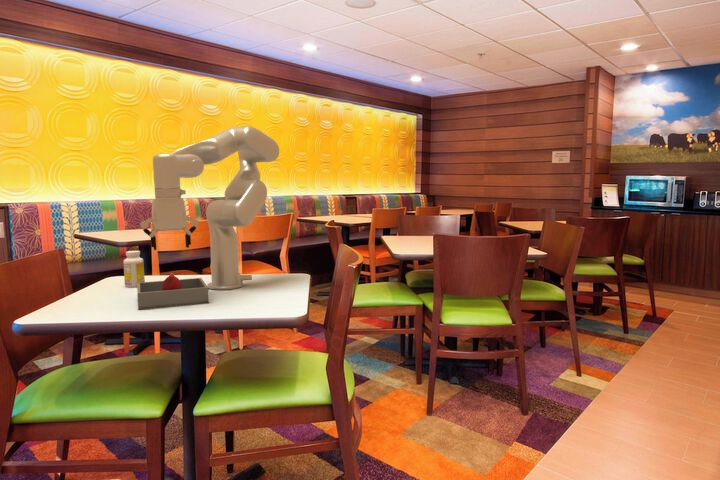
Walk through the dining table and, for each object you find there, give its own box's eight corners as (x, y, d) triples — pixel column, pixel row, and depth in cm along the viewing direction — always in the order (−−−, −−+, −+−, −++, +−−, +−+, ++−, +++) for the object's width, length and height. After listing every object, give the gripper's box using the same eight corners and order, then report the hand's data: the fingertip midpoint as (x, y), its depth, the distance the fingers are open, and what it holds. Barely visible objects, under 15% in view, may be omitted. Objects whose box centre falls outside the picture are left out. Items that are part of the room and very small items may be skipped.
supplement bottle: (145, 283, 182) (144, 249, 181) (143, 287, 176) (142, 252, 174) (126, 284, 180) (124, 250, 179) (123, 288, 174) (121, 252, 172)
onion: (175, 300, 151) (175, 275, 150) (158, 299, 152) (158, 274, 151) (185, 296, 157) (184, 272, 156) (168, 295, 158) (168, 271, 157)
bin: (201, 292, 167) (201, 277, 166) (208, 303, 150) (208, 287, 150) (138, 297, 158) (137, 282, 158) (138, 310, 142) (137, 293, 142)
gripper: (195, 193, 158) (198, 245, 160) (137, 194, 151) (141, 248, 153) (198, 193, 151) (201, 247, 153) (137, 195, 144) (141, 252, 146)
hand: (171, 248), depth 153 cm, fingers open, 9 cm apart
